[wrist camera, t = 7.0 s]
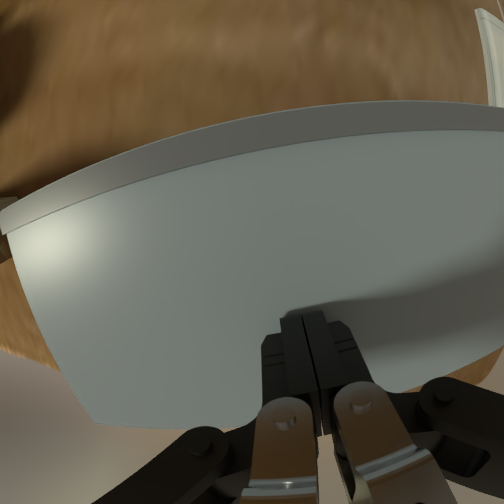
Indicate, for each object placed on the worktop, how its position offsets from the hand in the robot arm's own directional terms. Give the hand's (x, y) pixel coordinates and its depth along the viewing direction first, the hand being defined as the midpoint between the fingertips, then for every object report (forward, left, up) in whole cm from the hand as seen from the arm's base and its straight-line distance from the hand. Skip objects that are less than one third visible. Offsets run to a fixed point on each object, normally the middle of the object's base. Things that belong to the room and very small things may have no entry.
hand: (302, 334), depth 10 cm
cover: (-1, 0, -1) cm, 2 cm away
